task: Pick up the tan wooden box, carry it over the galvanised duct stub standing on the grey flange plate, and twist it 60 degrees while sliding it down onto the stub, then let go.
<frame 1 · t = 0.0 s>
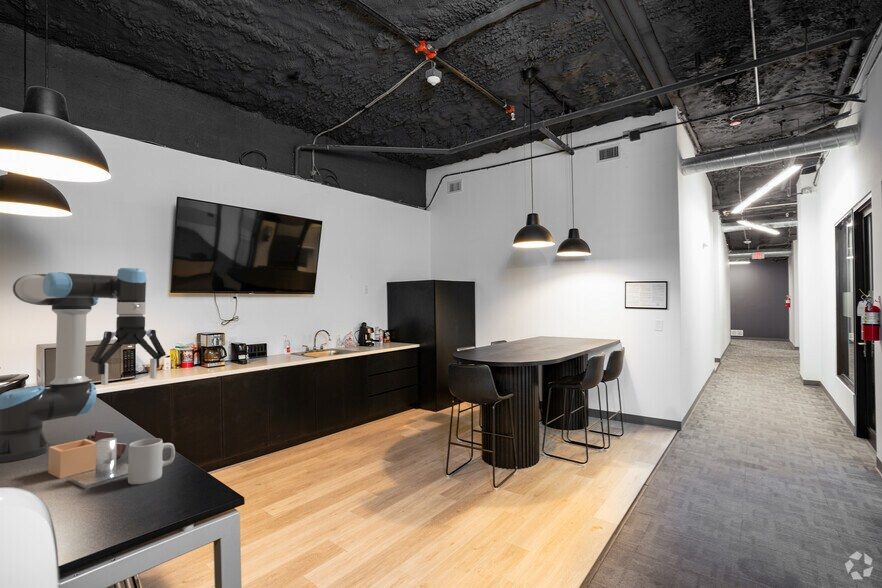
hand: (129, 381, 136), 28 cm above the table, fingers open, 13 cm apart
bracket: (102, 460, 144), on the table
duct flange: (105, 476, 129), on the table
mug: (152, 477, 129), on the table
tan wooden box: (73, 470, 134), on the table
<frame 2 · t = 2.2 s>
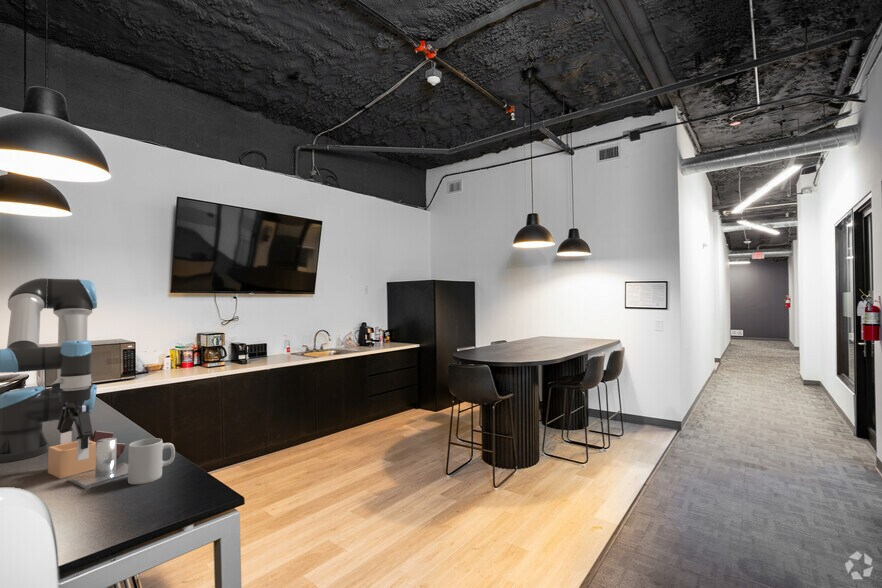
hand: (73, 455, 134), 5 cm above the table, fingers open, 13 cm apart
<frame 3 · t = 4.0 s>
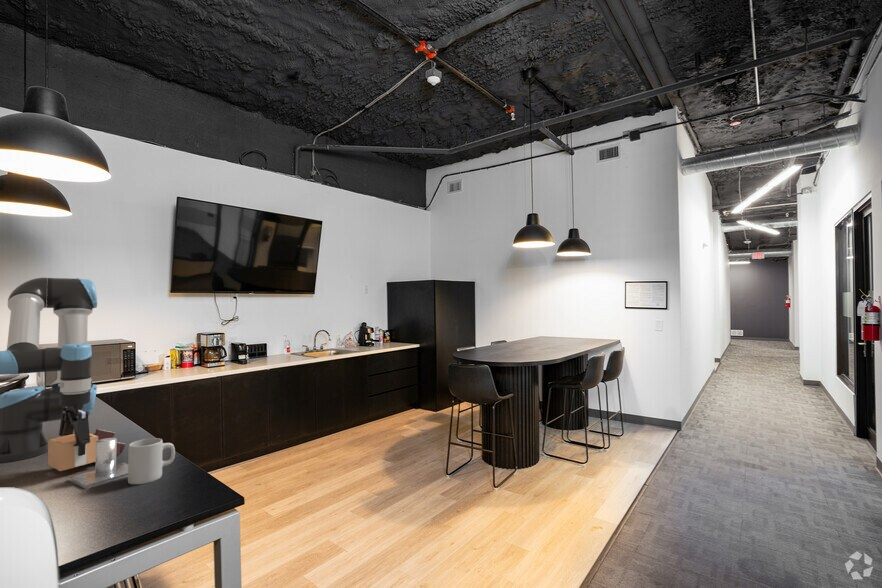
hand: (73, 461, 135), 3 cm above the table, fingers closed on tan wooden box, 9 cm apart
tan wooden box: (73, 462, 135), point 2 cm above the table, touching gripper
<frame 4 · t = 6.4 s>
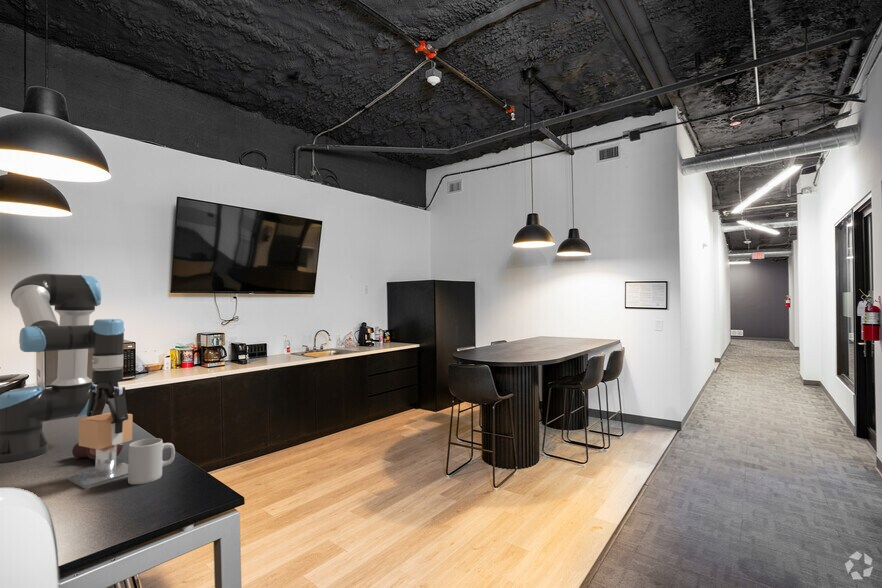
hand: (106, 441, 130), 11 cm above the table, fingers closed on tan wooden box, 9 cm apart
tan wooden box: (105, 442, 129), point 10 cm above the table, touching gripper
when the fingers open (3 cm above the table, at t = 8.9 s): tan wooden box drops 1 cm, resting on duct flange.
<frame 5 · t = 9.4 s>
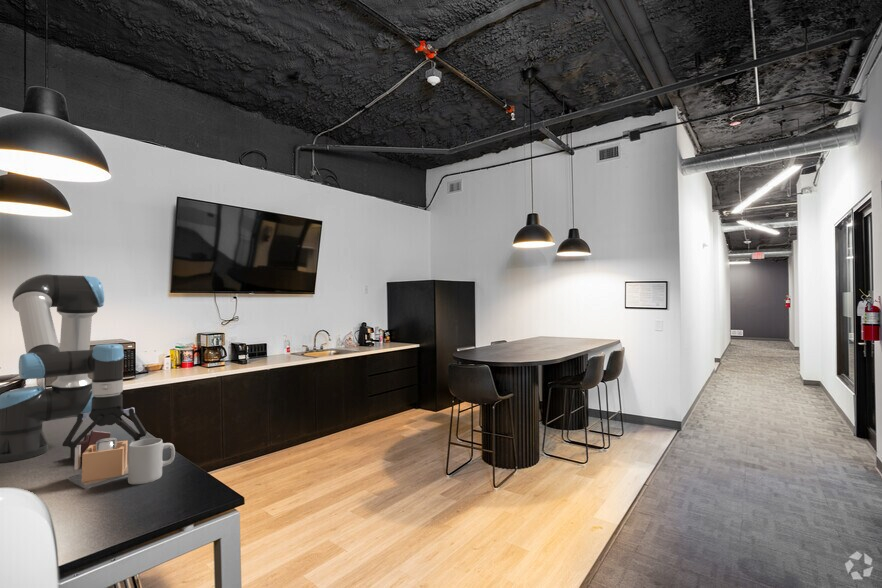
hand: (105, 464, 129), 4 cm above the table, fingers open, 13 cm apart
tan wooden box: (105, 473, 129), point 1 cm above the table, touching duct flange
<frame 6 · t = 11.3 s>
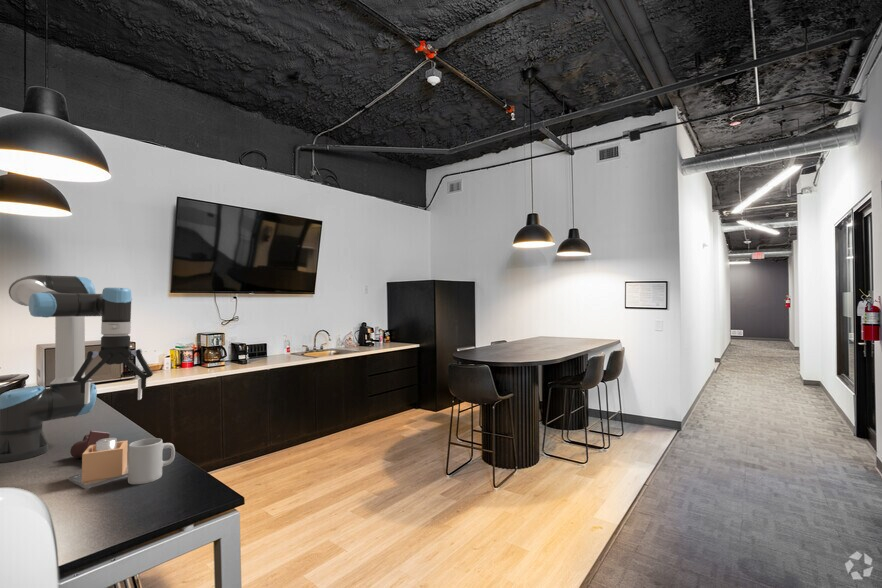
hand: (114, 401, 136), 22 cm above the table, fingers open, 13 cm apart
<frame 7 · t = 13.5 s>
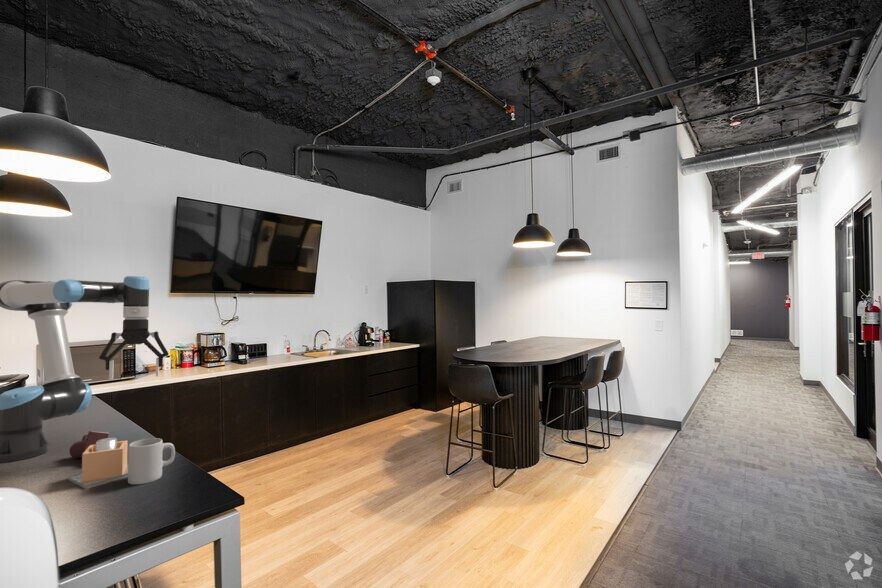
hand: (134, 377, 152), 27 cm above the table, fingers open, 13 cm apart
at the end: tan wooden box 0.1 cm off-centre on the duct flange, point 1.0 cm above the duct flange's base; tan wooden box tilted 0°; the gripper is holding nothing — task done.
